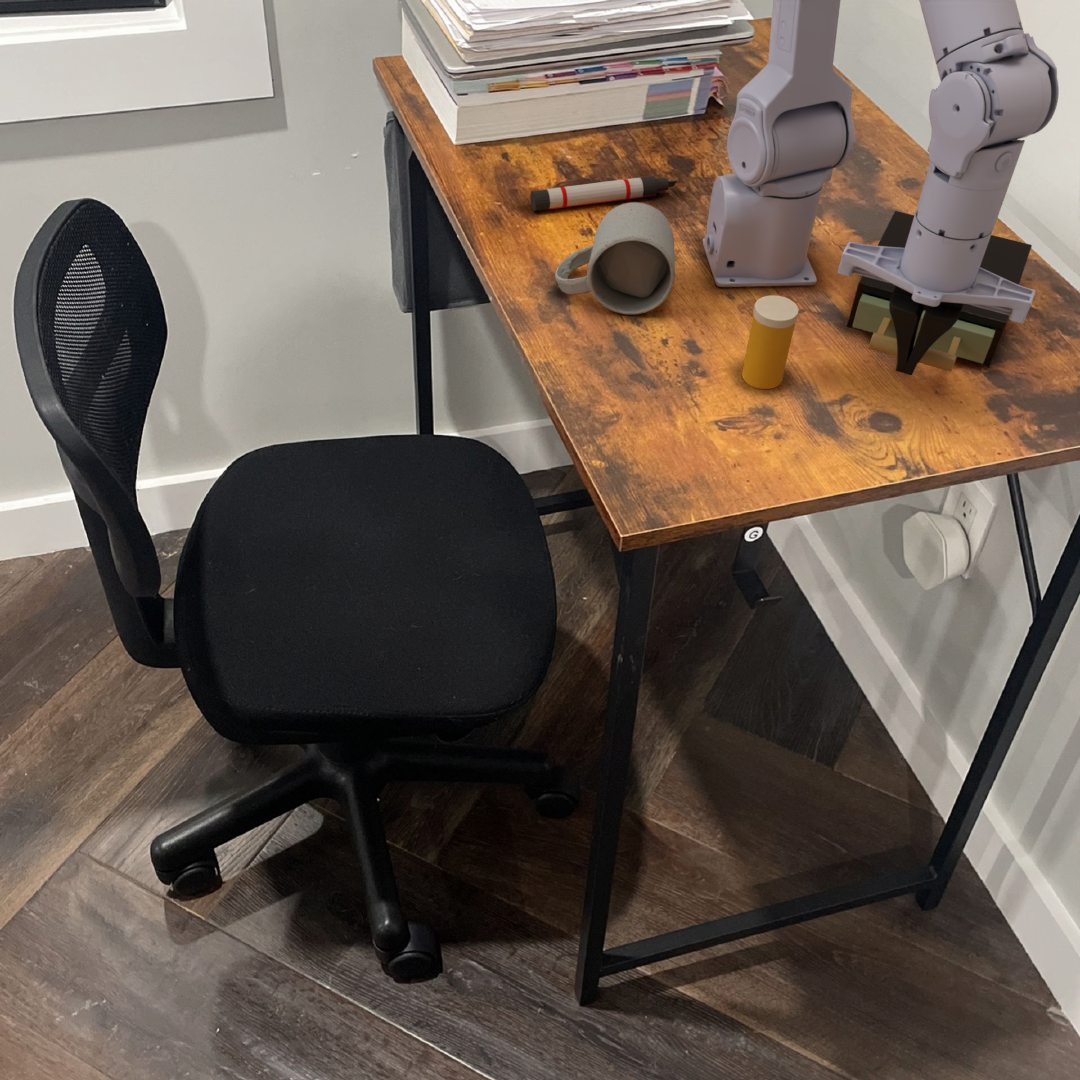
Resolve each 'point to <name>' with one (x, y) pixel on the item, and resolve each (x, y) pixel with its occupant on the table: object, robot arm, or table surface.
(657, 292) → the ceramic mug
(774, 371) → the pill bottle
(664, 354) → the table surface
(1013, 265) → the cabinet
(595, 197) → the marker
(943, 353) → the drawer
